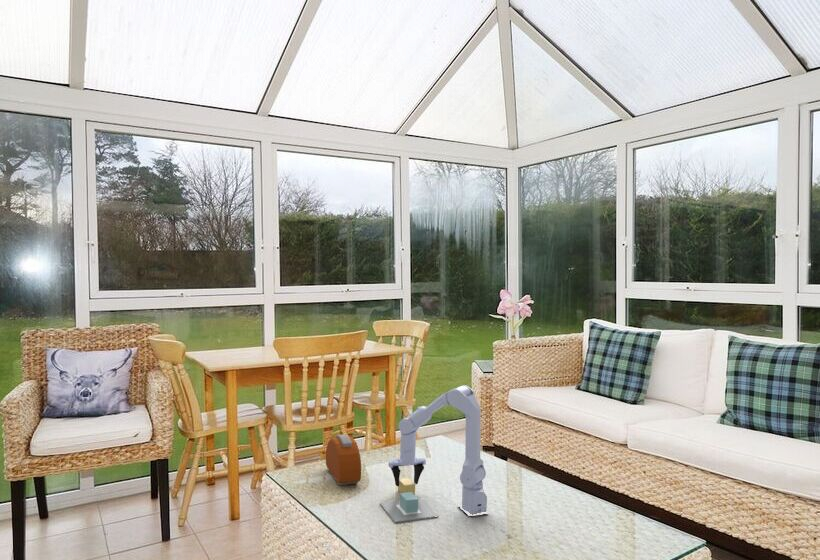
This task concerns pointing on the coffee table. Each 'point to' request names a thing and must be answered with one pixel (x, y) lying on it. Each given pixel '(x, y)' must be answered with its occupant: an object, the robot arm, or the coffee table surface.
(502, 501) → the coffee table surface
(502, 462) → the coffee table surface
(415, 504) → the teal brick
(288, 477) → the coffee table surface
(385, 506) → the baseplate
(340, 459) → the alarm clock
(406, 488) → the ochre brick
